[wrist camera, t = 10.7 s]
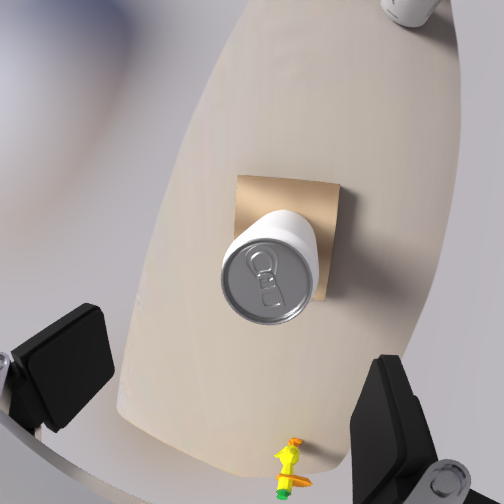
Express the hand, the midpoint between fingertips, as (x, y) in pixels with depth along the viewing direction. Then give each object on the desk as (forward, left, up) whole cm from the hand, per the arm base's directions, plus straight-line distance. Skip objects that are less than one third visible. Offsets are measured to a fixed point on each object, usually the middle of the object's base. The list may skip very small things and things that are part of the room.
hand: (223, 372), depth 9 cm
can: (0, 0, -21) cm, 21 cm away
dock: (0, 0, -24) cm, 24 cm away
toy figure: (+34, +6, -24) cm, 42 cm away
